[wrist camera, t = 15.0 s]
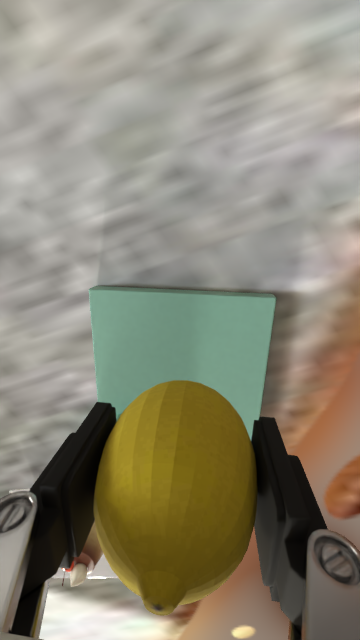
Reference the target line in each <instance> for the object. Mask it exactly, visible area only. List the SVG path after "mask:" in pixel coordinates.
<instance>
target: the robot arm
mask: <svg viewBox="0 0 360 640" xmlns="http://www.w3.org/2000/svg"><path fill="white" fill-rule="evenodd" d="M115 424H116V408H115V407H112V405H111V403H104V402H97V403H96V404H95V406H94V407H93V408H92V410H91V411H90V413H89V414H88V416H87V417H86V419H85V420H84V421H83V423H82V424H81V426H80V427H79V429H78V430H77V432H76V433H71V434H70V435H69V436H68V437H67V439H66V440H65V442H64V443H63V444H62V446H61V447H60V448H59V450H58V451H57V453H56V454H55V455H54V457H53V458H52V460H51V461H50V462H49V464H48V465H47V467H46V468H45V469H44V471H43V472H42V474H41V475H40V476H39V478H38V479H37V481H36V482H35V483H34V485H33V486H32V488H31V489H30V490H29V491H17V492H14V493H10V494H8V495H6V496H4V497H2V498H1V499H0V640H42V639H39V634H40V629H41V624H42V619H43V613H44V608H45V603H46V598H47V592H48V587H49V582H50V578H51V577H52V576H53V575H55V574H56V573H57V571H58V568H59V567H60V568H66V569H70V567H71V564H72V562H73V560H74V557H79V556H80V554H81V552H82V550H83V548H84V545H85V543H86V540H87V538H88V535H89V533H90V531H91V528H92V526H93V523H94V521H95V518H94V511H93V506H94V492H95V485H96V479H97V474H98V469H99V464H100V460H101V456H102V452H103V449H104V446H105V443H106V441H107V439H108V437H109V435H110V433H111V431H112V429H113V428H114V426H115ZM251 443H252V445H253V449H254V453H255V459H256V469H257V487H258V497H257V511H256V518H255V524H254V527H255V534H256V540H257V548H258V554H259V561H260V567H261V574H262V580H263V584H264V585H265V586H269V587H270V593H271V598H272V601H277V602H280V607H281V610H282V611H283V612H284V613H285V615H286V616H287V617H288V618H289V635H288V640H360V551H359V550H358V549H357V548H356V546H355V545H354V544H353V543H351V542H350V541H349V540H348V539H347V538H345V537H344V536H342V535H340V534H338V533H337V532H334V531H331V530H328V529H327V526H326V524H325V521H324V519H323V516H322V514H321V511H320V509H319V506H318V504H317V501H316V499H315V497H314V494H313V492H312V489H311V487H310V484H309V482H308V479H307V477H306V474H305V472H304V469H303V467H302V464H301V462H300V460H299V458H298V457H297V456H294V455H288V454H287V451H286V449H285V446H284V443H283V440H282V437H281V435H280V432H279V429H278V426H277V423H276V421H275V418H270V417H259V420H254V424H253V431H252V439H251Z"/></svg>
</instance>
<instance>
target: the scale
mask: <svg viewBox="0 0 360 640" xmlns="http://www.w3.org/2000/svg"><path fill="white" fill-rule="evenodd" d="M89 299H90V311H91V323H92V335H93V347H94V359H95V371H96V384H97V396H98V402H104V403H111V405H112V407H115V408H116V422H117V420H118V419H119V417H120V415H121V414H122V413H123V411H124V410H125V409H126V408H127V406H128V405H129V404H131V403H132V402H133V401H134V400H135V399H136V398H137V397H138V396H139V395H140V394H141V393H143V392H144V391H146V390H148V389H150V388H152V387H154V386H155V385H157V384H160V383H164V382H168V381H173V380H189V381H193V382H198V383H201V384H204V385H206V386H208V387H210V388H212V389H214V390H216V391H217V392H218V393H220V394H221V395H222V396H223V397H225V398H226V399H227V400H228V401H229V402H230V403H231V405H232V406H233V407H234V409H235V410H236V411H237V413H238V414H239V415H240V417H241V418H242V420H243V422H244V425H245V427H246V430H247V432H248V435H249V437H250V440H251V439H252V431H253V424H254V420H259V417H260V413H261V406H262V398H263V391H264V384H265V377H266V370H267V363H268V356H269V348H270V341H271V334H272V327H273V320H274V313H275V306H276V297H275V296H274V295H273V294H264V293H242V292H220V291H198V290H176V289H154V288H132V287H109V286H95V287H93V288H90V289H89Z"/></svg>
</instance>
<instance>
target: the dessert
mask: <svg viewBox="0 0 360 640" xmlns="http://www.w3.org/2000/svg"><path fill="white" fill-rule="evenodd" d="M29 490H30V489H17V490H10V491H9V492H10V493H14V492H17V491H29ZM52 577H53V578H63V581H64V578H70V581H71V587H73V586H77V585H79V584H81V583H83V582H84V580H85V578H118V576H117V575H116V574H115V573H114V571H113V570H112V569H111V567H110V565H109V563H108V562H107V560H106V558H105V555H104V553H103V551H102V549H101V547H100V544H99V541H98V538H97V532H96V525H95V521H94V523H93V526H92V528H91V531H90V533H89V535H88V538H87V540H86V543H85V545H84V548H83V550H82V552H81V554H80V556H79V557H74V560H73V562H72V564H71V567H70V569H66V568H60V567H59V568H58V571H57V573H56V574H55V575H53V576H52ZM62 586H63V583H62Z"/></svg>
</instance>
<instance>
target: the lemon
mask: <svg viewBox="0 0 360 640" xmlns="http://www.w3.org/2000/svg"><path fill="white" fill-rule="evenodd" d="M257 497H258V487H257V469H256V459H255V453H254V449H253V445H252V443H251V440H250V437H249V435H248V432H247V430H246V427H245V425H244V422H243V420H242V418H241V417H240V415H239V414H238V413H237V411H236V410H235V409H234V407H233V406H232V405H231V403H230V402H229V401H228V400H227V399H226V398H225V397H223V396H222V395H221V394H220V393H218V392H217V391H216V390H214V389H212V388H210V387H208V386H206V385H204V384H201V383H198V382H193V381H189V380H173V381H168V382H164V383H160V384H157V385H155V386H154V387H152V388H150V389H148V390H146V391H144V392H143V393H141V394H140V395H139V396H138V397H137V398H136V399H135V400H134V401H133V402H132V403H131V404H129V405H128V406H127V408H126V409H125V410H124V411H123V413H122V414H121V415H120V417H119V419H118V420H117V422H116V424H115V426H114V428H113V429H112V431H111V433H110V435H109V437H108V439H107V441H106V443H105V446H104V449H103V452H102V456H101V460H100V464H99V469H98V474H97V479H96V485H95V492H94V506H93V511H94V518H95V525H96V532H97V538H98V541H99V544H100V547H101V549H102V551H103V553H104V555H105V558H106V560H107V562H108V563H109V565H110V567H111V569H112V570H113V571H114V573H115V574H116V575H117V576H118V578H119V579H120V580H121V581H122V582H123V584H124V585H125V586H126V587H127V588H129V589H130V590H131V591H133V592H134V593H135V594H137V595H139V596H141V598H142V600H143V603H144V605H145V608H146V609H147V610H148V611H150V612H151V613H153V614H156V615H168V614H170V613H172V612H173V611H174V609H175V608H176V607H177V606H178V605H182V604H188V603H192V602H195V601H198V600H200V599H202V598H204V597H206V596H208V595H209V594H211V593H212V592H213V591H215V590H216V589H218V588H219V587H220V586H221V585H222V584H224V583H225V582H226V581H227V580H228V579H229V577H230V576H231V575H232V573H233V572H234V571H235V569H236V568H237V566H238V565H239V564H240V562H241V561H242V559H243V557H244V555H245V553H246V551H247V549H248V545H249V541H250V538H251V534H252V531H253V527H254V524H255V518H256V511H257Z"/></svg>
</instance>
